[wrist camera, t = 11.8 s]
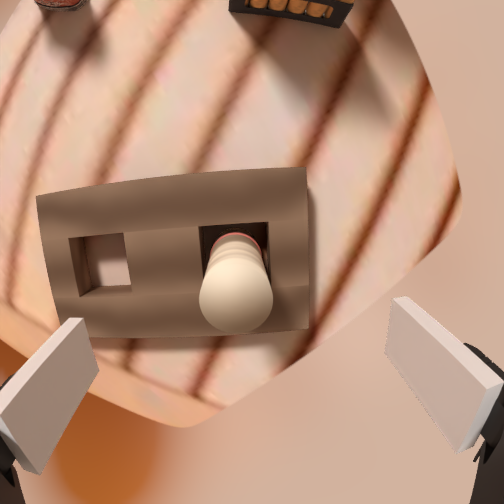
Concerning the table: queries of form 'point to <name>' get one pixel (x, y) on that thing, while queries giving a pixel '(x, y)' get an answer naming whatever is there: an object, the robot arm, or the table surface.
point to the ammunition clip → (297, 9)
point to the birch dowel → (236, 284)
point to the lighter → (61, 4)
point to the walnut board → (174, 249)
